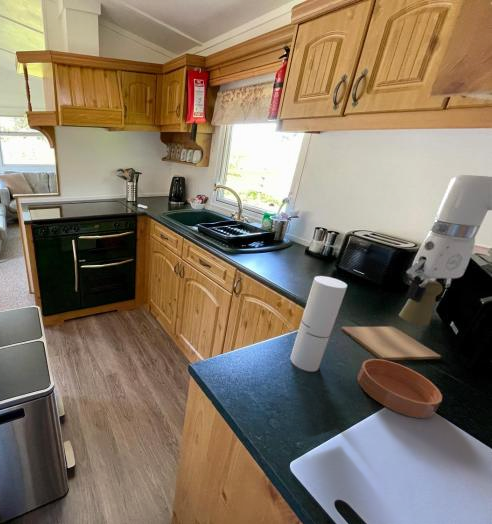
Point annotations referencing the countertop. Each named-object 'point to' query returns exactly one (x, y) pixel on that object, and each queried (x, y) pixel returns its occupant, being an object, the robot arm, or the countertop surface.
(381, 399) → the terracotta dish
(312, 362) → the cylindrical container
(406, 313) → the pepper shaker
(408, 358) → the cutting board
